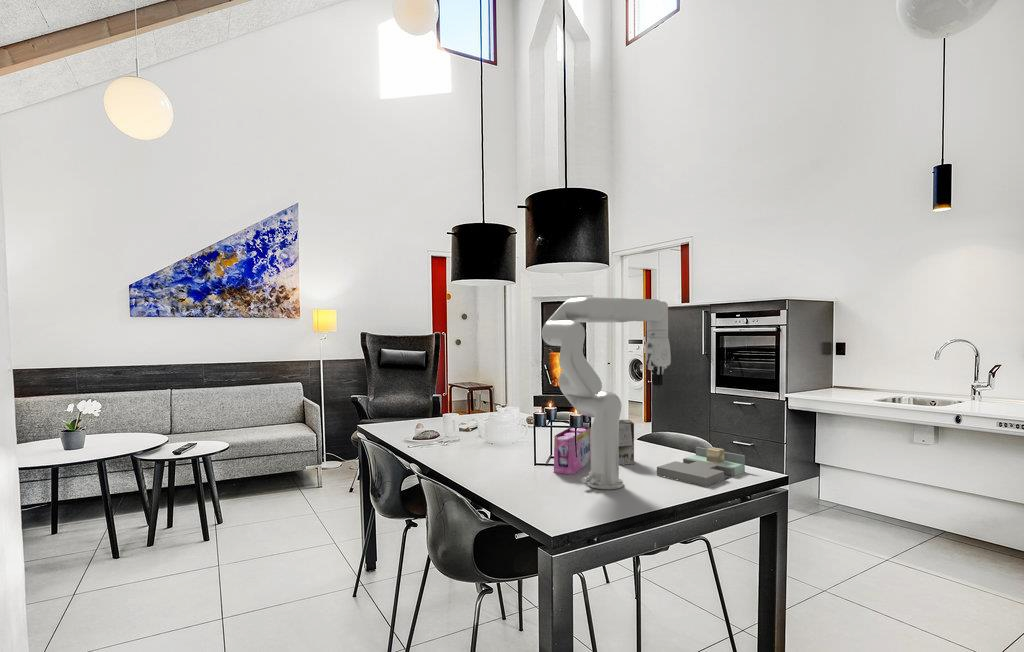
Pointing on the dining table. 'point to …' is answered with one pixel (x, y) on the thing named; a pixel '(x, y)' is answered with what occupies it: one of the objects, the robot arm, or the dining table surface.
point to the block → (715, 455)
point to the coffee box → (626, 442)
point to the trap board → (703, 468)
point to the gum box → (571, 450)
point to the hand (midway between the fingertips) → (657, 385)
